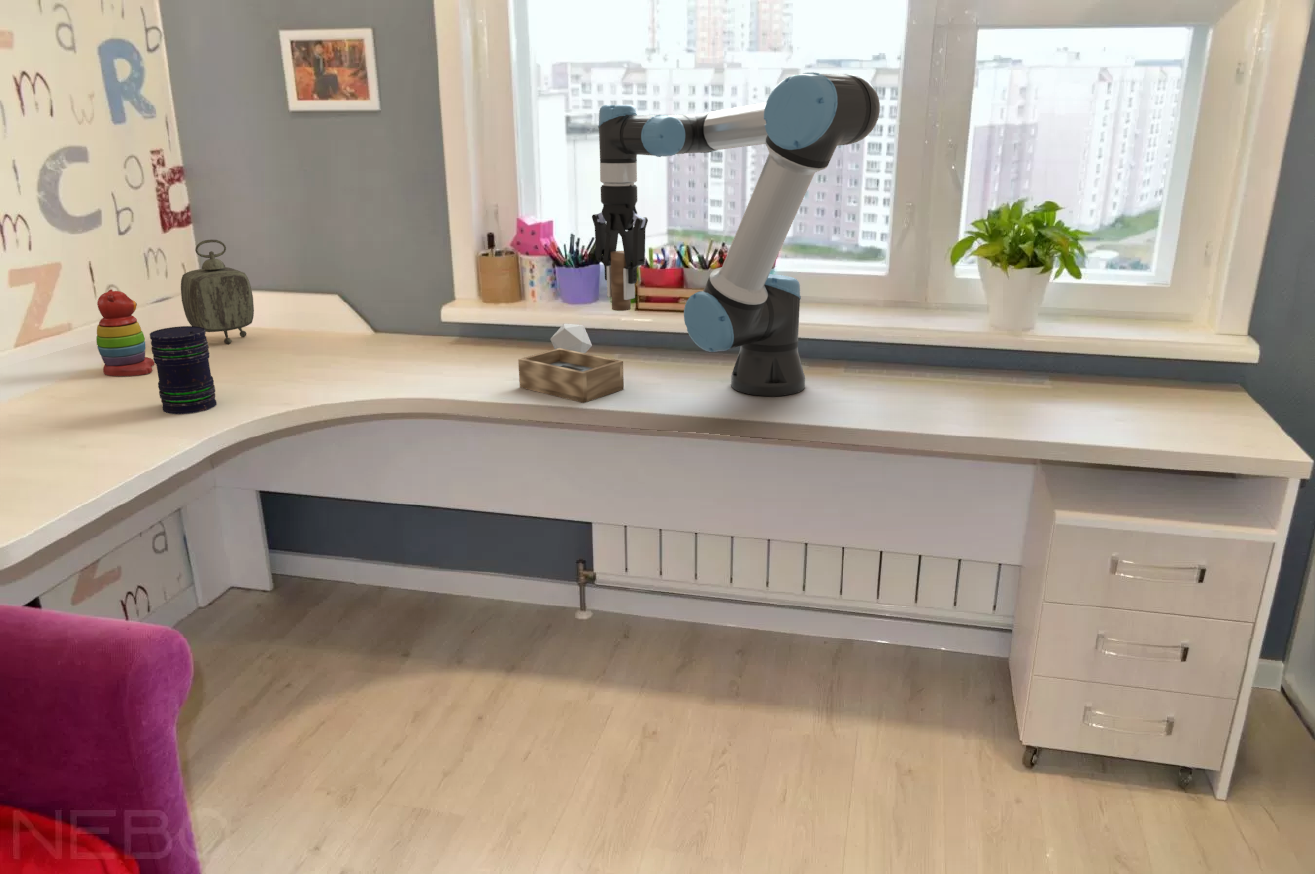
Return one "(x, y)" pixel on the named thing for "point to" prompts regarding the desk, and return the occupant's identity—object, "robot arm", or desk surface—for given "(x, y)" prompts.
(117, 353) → the bird stacking toy
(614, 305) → the peg
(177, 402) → the storage jar
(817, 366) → the desk surface
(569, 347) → the die
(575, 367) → the box
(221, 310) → the tabletop clock
